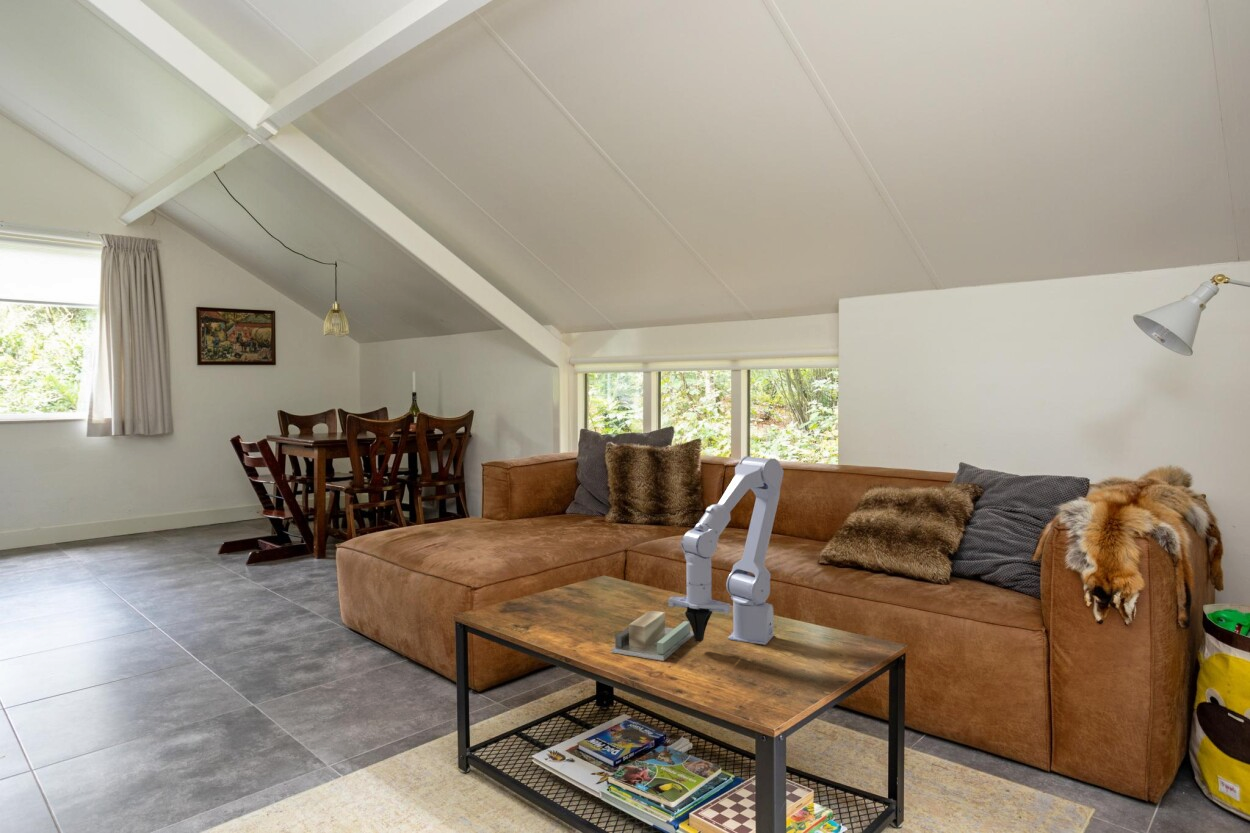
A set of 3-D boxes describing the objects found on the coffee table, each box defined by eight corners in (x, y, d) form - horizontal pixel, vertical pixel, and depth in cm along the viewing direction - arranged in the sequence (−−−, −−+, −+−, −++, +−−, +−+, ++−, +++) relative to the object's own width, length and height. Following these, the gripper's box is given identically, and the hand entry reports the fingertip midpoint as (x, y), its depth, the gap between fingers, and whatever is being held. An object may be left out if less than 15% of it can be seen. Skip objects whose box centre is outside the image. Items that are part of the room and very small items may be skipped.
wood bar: (665, 632, 183) (664, 612, 183) (644, 648, 172) (644, 626, 172) (650, 630, 185) (649, 610, 185) (629, 645, 174) (628, 624, 174)
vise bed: (693, 635, 184) (693, 620, 184) (663, 661, 167) (663, 645, 167) (645, 628, 190) (645, 614, 189) (611, 652, 173) (611, 637, 172)
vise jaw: (690, 631, 183) (690, 621, 183) (663, 654, 168) (663, 643, 168) (684, 630, 184) (684, 620, 184) (656, 653, 169) (656, 642, 168)
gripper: (663, 583, 172) (663, 641, 173) (723, 590, 166) (723, 650, 166) (674, 575, 178) (675, 632, 179) (733, 582, 172) (733, 640, 173)
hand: (699, 640), depth 173 cm, fingers closed
